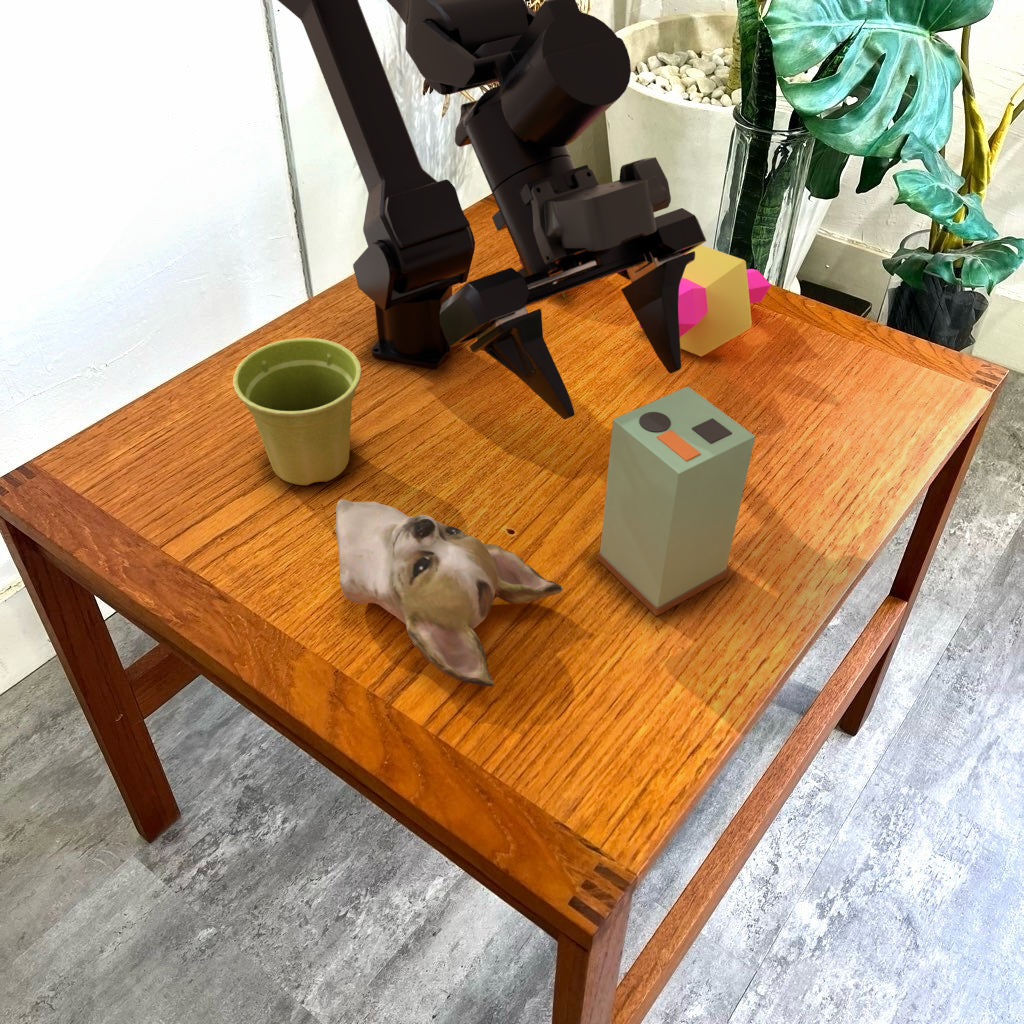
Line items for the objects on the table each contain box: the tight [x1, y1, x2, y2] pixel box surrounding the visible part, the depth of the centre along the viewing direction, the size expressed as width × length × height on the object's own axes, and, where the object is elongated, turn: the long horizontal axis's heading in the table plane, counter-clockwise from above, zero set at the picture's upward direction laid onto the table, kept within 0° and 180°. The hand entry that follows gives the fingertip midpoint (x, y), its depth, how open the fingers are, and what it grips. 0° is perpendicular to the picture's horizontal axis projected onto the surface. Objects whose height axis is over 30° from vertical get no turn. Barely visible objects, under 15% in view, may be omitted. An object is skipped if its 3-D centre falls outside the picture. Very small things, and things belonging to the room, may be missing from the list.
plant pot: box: [232, 337, 362, 486], centre depth 79 cm, size 9×9×9 cm
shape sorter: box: [597, 385, 756, 617], centre depth 70 cm, size 7×7×13 cm
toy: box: [638, 244, 772, 358], centre depth 93 cm, size 10×18×10 cm, turn 143°
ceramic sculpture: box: [335, 498, 564, 688], centre depth 68 cm, size 11×9×15 cm
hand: (624, 393), depth 69 cm, fingers open, 9 cm apart
